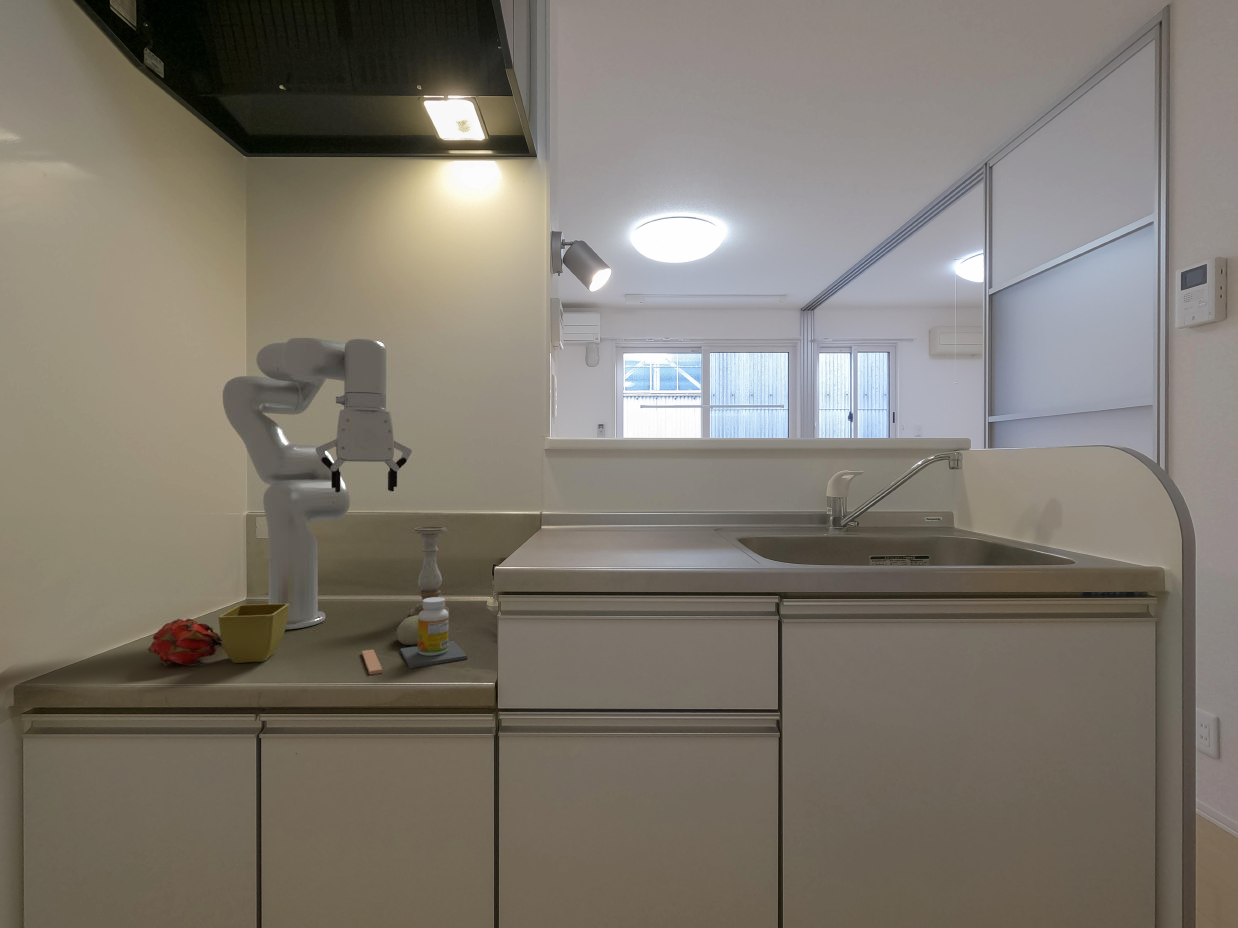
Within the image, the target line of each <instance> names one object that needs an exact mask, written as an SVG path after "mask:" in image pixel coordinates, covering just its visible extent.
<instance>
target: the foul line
mask: <svg viewBox="0 0 1238 928" xmlns="http://www.w3.org/2000/svg"><path fill="white" fill-rule="evenodd" d="M361 655H362V657H363V658H362V659H363V662H364V664H365V666H366V670H367V672H368V674H369V675H377V674H383V667H382V665H381V663H380V661H379V659H378V656H377V654H376V652H375V650H374V648H373V649H366V650H361Z"/></svg>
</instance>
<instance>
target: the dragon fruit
mask: <svg viewBox="0 0 1238 928" xmlns="http://www.w3.org/2000/svg"><path fill="white" fill-rule="evenodd" d="M152 639H153V641H152V642H151V645H150V646H149V647H148V648H147V650H148V652H149V653H153V654H155V655H157V656H159V658H160V661H161V662H162V664H163V665H164V666H165V667H167V666H169V665H170V664H173V663H176V664H181V665H182V666H186V667H195V666H198V665H200V664H204V662H203V661H201V660H200V661H199V660H198V659H200V658H205V657H212V656H214V655H215V654H216V652H217V651H218V648H217V647H216V646H219V647H222V640H221V636H220V635H218V633H217V632H214V628H213V627H211V626H210V625H208V624H206V623H198V621H197V620H196V619H192V618H186V619H185V620H184V619H180V618H177V619H175V620H173V621H171V622H168V623H165V624H164V625H163V626H162V627H161V628H160V629H158V631H157V632H156V633H154V635H153V636H152ZM196 660H198V661H196Z"/></svg>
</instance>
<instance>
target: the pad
mask: <svg viewBox="0 0 1238 928" xmlns="http://www.w3.org/2000/svg"><path fill="white" fill-rule="evenodd" d="M399 652H400V653H401V655H402V657H403V659H404V661H405V662H406V664H407V666H408V668H409V669H413V668H419V667H420V668H421V667H426V666H431V665H438V664H443V663H445V664H446V663H451V662H457V661H463V660H467V659H468V655H467V654H466V652H464V650H463V649H462V648H461V647H460V646H459V644H457V642H455V640H450V641H449V640H448V650H447V652H445V653H443V654H440V655H435V656H425V655H421V654H419V653H418V645H414V646H410V647H409V646H408V647H402V648H400V651H399Z"/></svg>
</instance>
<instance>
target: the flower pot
mask: <svg viewBox="0 0 1238 928" xmlns="http://www.w3.org/2000/svg"><path fill="white" fill-rule="evenodd" d="M288 608H289V604H269V603H259V604H239V605H237V606H235V607H233V608H231V609H229V610H228V611H226V612H225V613H222V614H220V615H219V616H218V624H219V625H218V626H219V632H220V640H222V641H221V646H222V648H223V650H224V653H226V655H227V657H228V658H229V659H230V660H231V661H232V662H233V664H234V663H235V664H241V663H262V662H266V660H268V659H269V658H271V657H272V656H273V655H274V654H275V652H277V649H278V648H279V646H280V644H281V643H282V640H283V638H284V635H285V631H286V630H285V628H286V622H287V615H288Z"/></svg>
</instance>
